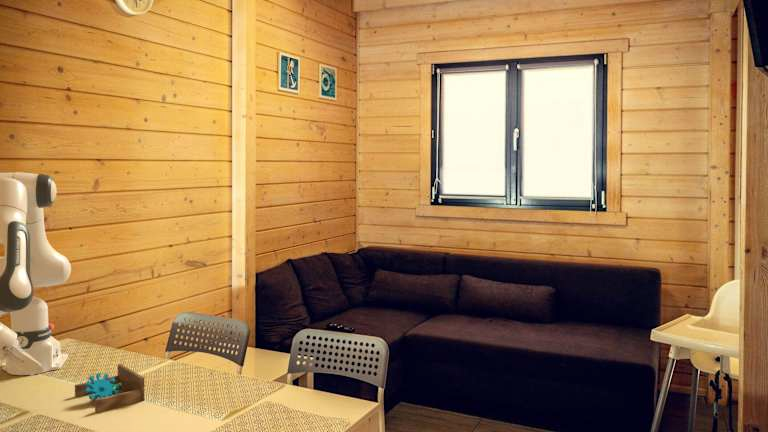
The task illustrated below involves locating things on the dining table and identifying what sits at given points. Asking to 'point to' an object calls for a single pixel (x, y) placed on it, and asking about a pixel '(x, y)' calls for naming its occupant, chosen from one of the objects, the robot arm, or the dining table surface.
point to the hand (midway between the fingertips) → (40, 370)
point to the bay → (130, 384)
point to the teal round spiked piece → (102, 387)
